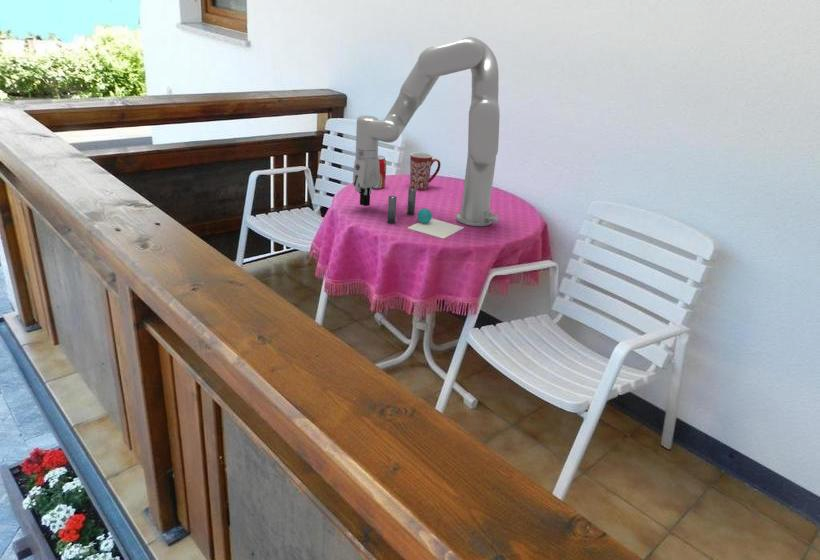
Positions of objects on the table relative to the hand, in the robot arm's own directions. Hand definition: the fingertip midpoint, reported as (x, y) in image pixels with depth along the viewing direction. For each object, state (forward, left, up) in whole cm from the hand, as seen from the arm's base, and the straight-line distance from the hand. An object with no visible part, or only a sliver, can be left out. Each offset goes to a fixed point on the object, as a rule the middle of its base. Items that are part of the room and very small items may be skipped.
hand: (364, 204), depth 210 cm
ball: (-23, -2, +1) cm, 24 cm away
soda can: (+13, -25, -2) cm, 28 cm away
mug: (-1, -38, -2) cm, 38 cm away
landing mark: (-29, -1, -2) cm, 29 cm away
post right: (-15, -7, -2) cm, 17 cm away
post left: (-15, +5, -2) cm, 16 cm away
